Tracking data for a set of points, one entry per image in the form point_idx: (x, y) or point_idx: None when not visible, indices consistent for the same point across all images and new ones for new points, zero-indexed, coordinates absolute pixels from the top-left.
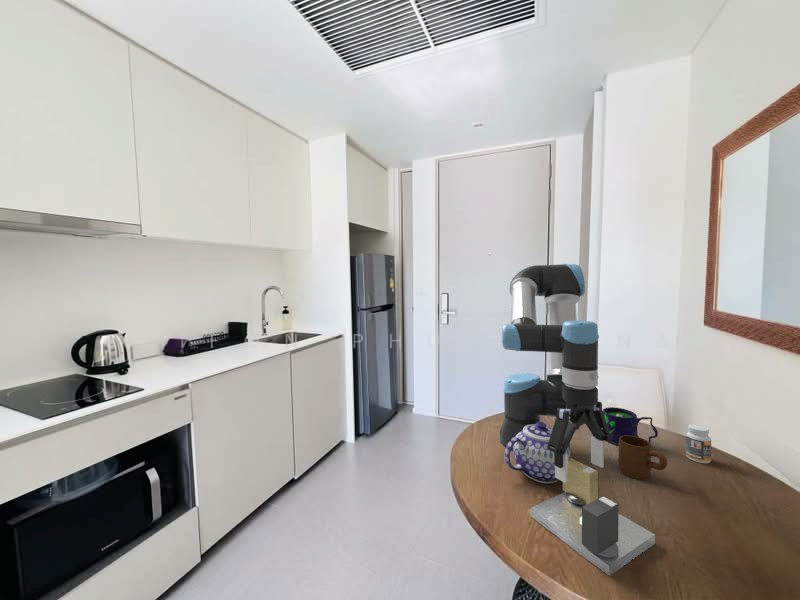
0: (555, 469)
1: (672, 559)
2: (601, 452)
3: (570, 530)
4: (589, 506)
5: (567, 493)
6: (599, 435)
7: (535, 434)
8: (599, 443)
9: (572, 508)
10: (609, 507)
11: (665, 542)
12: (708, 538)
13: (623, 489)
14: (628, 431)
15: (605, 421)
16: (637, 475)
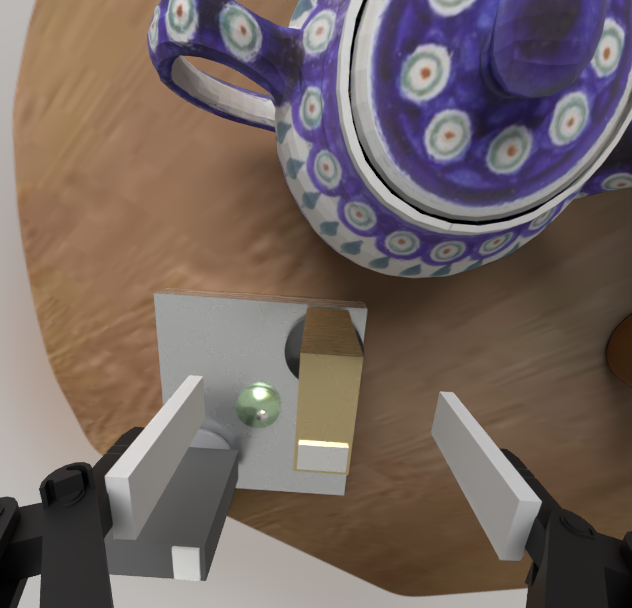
0: (171, 397)
1: (325, 503)
2: (464, 492)
3: None
4: (111, 547)
5: (303, 326)
6: (529, 602)
7: (377, 96)
8: (494, 530)
9: (265, 359)
10: (168, 573)
11: (365, 484)
12: (449, 519)
13: (514, 364)
14: None
15: None
16: (619, 372)
